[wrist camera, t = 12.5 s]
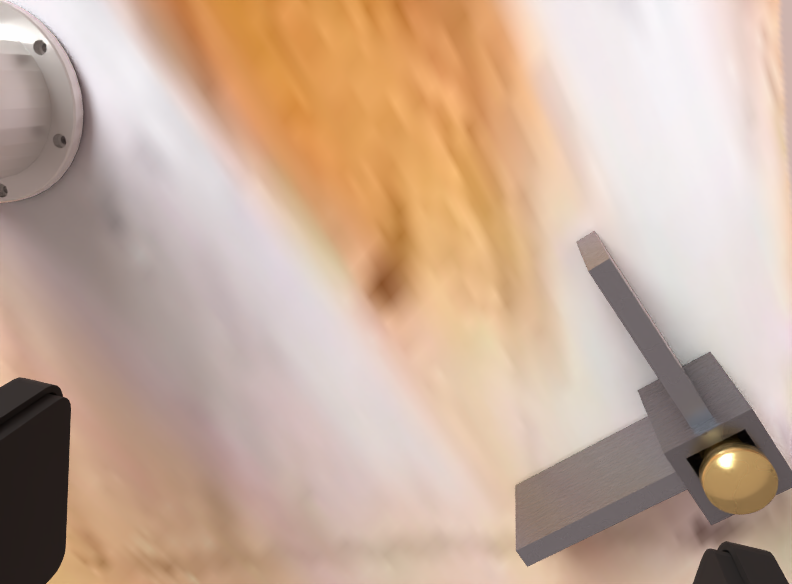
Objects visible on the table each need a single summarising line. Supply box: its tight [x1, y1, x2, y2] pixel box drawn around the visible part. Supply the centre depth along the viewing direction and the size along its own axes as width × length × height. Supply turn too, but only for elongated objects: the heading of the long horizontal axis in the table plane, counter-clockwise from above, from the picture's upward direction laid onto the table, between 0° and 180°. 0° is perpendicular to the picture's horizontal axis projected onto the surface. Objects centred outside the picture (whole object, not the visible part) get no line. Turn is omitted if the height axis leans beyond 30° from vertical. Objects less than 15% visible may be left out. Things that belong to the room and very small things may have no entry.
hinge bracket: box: [515, 231, 792, 567], centre depth 41 cm, size 15×15×8 cm
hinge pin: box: [699, 433, 778, 515], centre depth 40 cm, size 3×3×10 cm
